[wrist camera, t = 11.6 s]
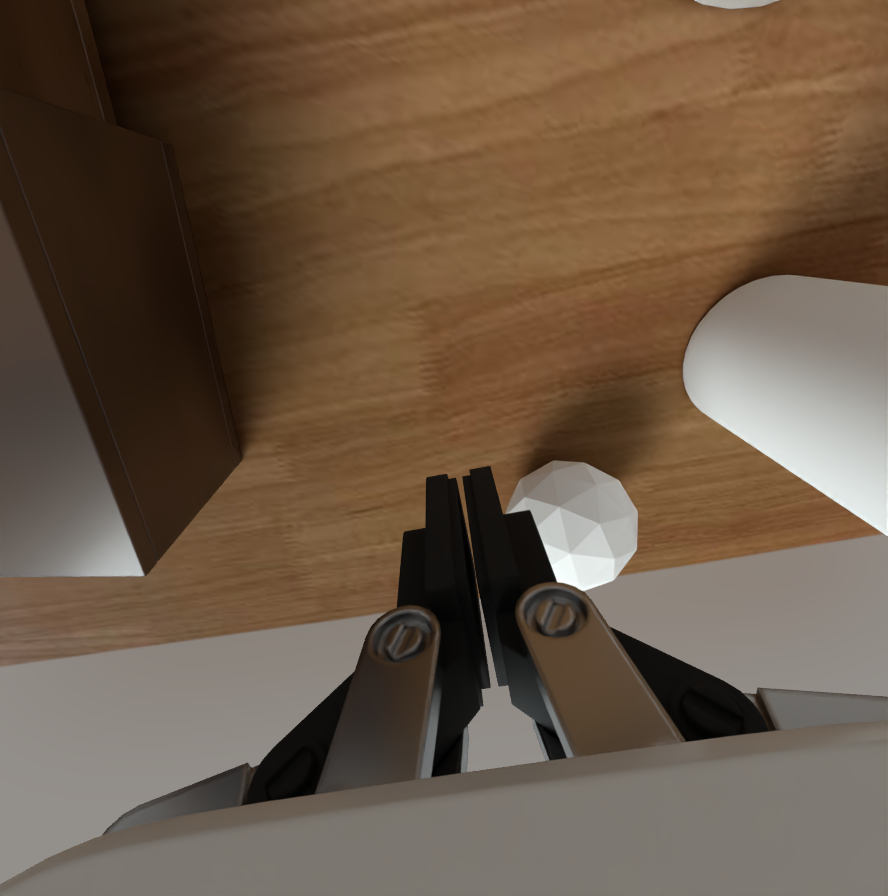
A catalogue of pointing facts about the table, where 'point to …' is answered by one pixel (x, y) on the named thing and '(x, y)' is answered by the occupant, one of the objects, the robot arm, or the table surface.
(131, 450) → the cabinet
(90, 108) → the drawer
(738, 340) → the bottle
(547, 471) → the ornament
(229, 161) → the table surface
